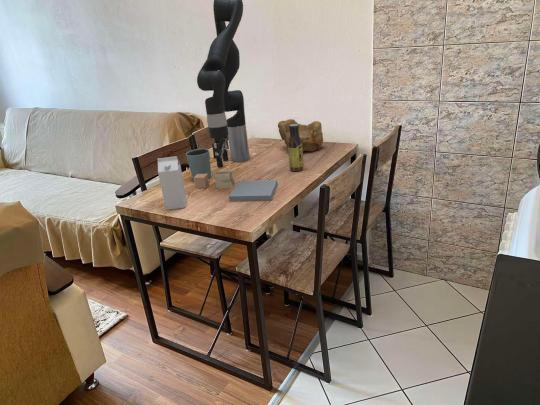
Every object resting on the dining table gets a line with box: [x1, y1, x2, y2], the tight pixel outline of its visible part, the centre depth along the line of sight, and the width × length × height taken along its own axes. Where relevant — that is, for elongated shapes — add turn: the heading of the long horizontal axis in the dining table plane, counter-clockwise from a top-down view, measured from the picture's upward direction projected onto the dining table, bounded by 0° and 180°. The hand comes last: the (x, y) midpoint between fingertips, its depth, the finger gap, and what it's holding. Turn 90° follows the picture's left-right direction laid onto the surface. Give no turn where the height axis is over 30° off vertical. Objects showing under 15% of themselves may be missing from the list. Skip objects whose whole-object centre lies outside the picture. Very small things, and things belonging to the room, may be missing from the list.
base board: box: [228, 179, 279, 202], centre depth 157 cm, size 16×16×2 cm
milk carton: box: [157, 156, 188, 211], centre depth 149 cm, size 7×7×19 cm
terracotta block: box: [193, 174, 210, 190], centre depth 168 cm, size 5×5×5 cm
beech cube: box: [214, 169, 235, 190], centre depth 166 cm, size 6×6×6 cm
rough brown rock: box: [277, 118, 324, 154], centre depth 201 cm, size 23×17×15 cm
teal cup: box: [185, 148, 212, 181], centre depth 177 cm, size 10×10×12 cm
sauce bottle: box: [287, 123, 304, 172], centre depth 174 cm, size 6×6×20 cm
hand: (223, 164), depth 163 cm, fingers open, 8 cm apart
